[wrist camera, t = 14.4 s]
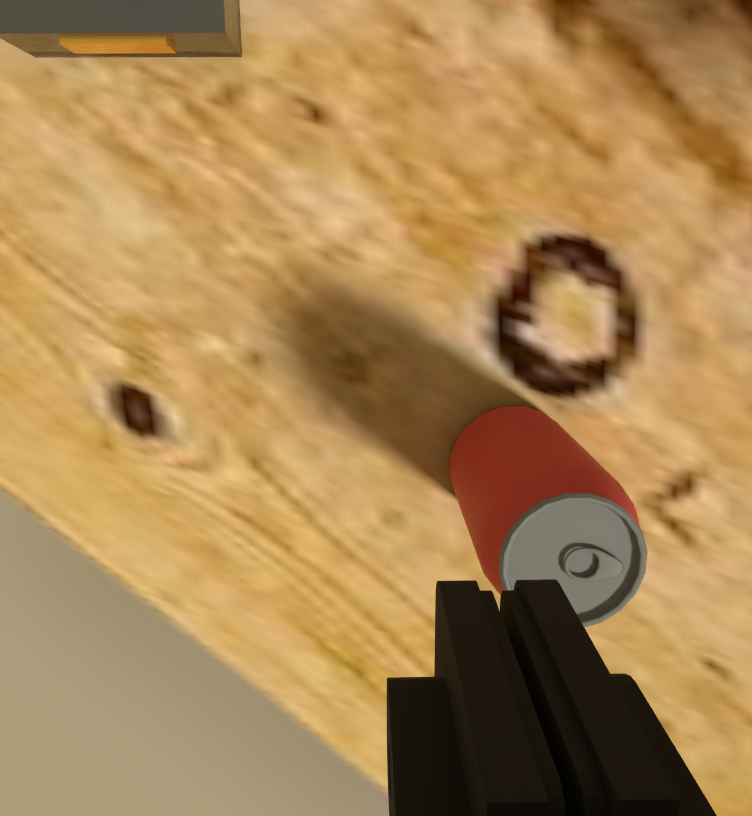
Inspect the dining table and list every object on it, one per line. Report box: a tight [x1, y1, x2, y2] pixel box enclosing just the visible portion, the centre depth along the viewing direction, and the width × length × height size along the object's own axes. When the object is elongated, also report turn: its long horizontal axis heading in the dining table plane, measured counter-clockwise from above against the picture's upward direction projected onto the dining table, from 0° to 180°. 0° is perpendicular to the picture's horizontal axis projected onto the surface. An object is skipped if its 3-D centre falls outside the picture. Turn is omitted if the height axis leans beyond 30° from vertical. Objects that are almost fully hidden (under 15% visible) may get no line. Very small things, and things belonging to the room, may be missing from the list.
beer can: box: [450, 406, 647, 627], centre depth 32 cm, size 7×7×12 cm
